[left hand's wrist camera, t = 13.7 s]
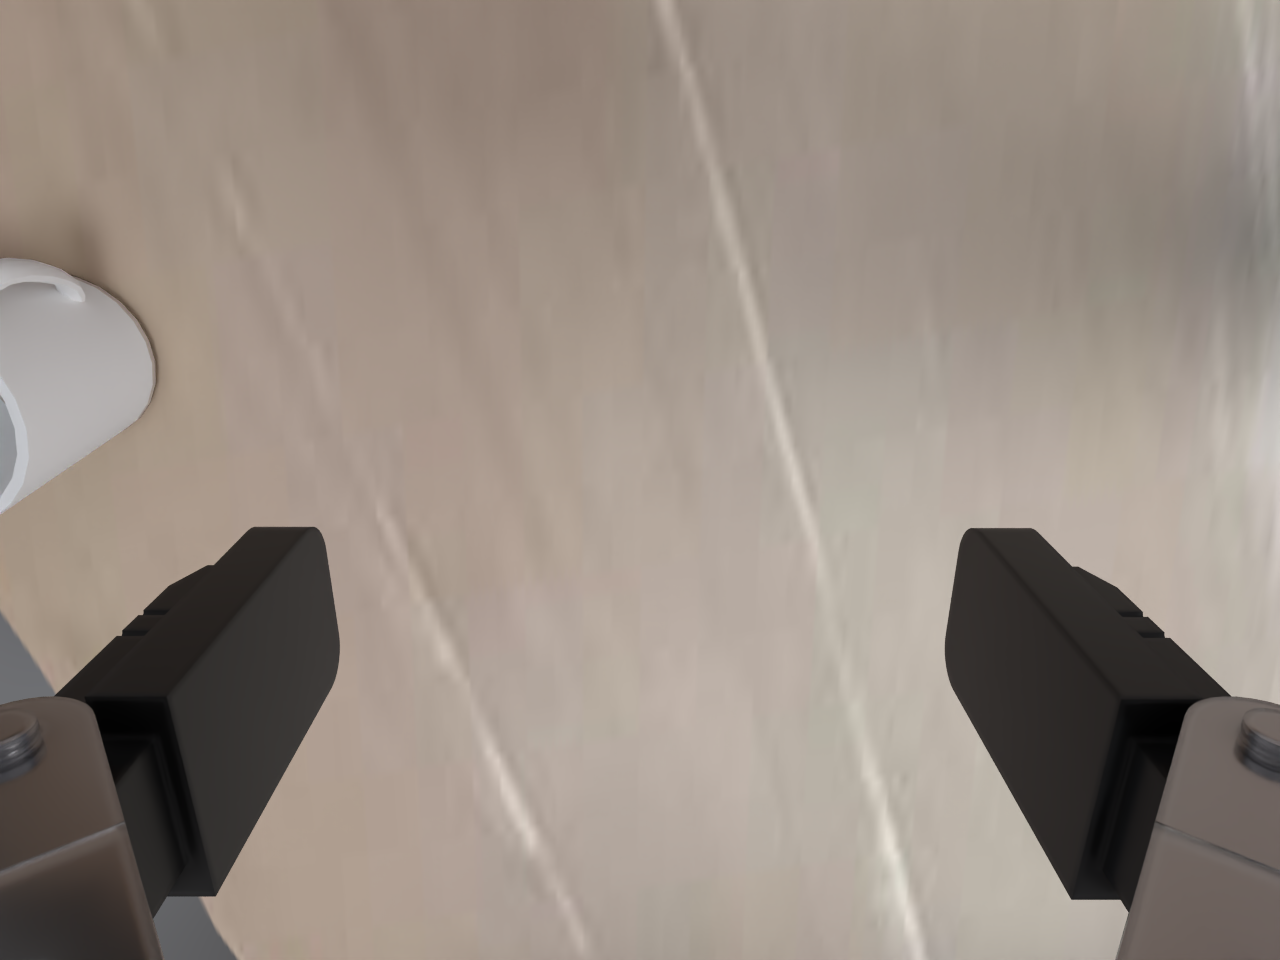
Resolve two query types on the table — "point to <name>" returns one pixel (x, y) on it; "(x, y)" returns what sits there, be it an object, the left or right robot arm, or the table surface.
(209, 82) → the table surface
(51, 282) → the mug
